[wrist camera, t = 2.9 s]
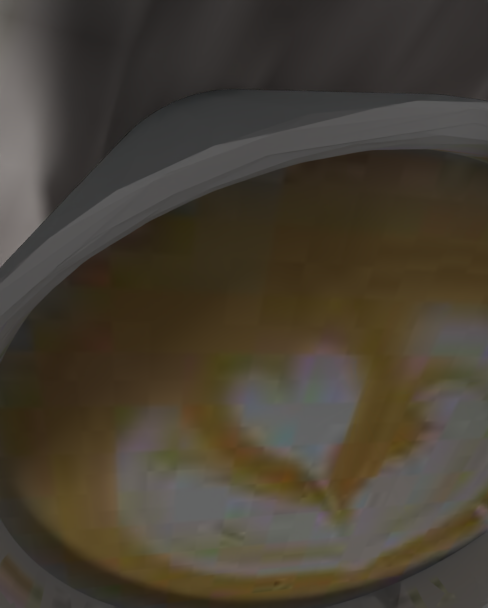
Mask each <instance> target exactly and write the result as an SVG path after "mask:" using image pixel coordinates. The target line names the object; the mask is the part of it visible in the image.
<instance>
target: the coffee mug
mask: <svg viewBox="0 0 488 608" xmlns="http://www.w3.org/2000/svg"><path fill="white" fill-rule="evenodd" d="M0 608H488V101H486V100H478V99H471V98H463V97H456V96H448V95H441V94H403V93H364V92H324V91H285V90H245V89H227V90H215V91H210V92H204V93H199V94H196V95H192V96H189V97H186V98H184V99H181V100H178V101H175V102H173V103H171V104H169V105H167V106H165V107H163V108H161V109H160V110H158V111H156V112H154V113H153V114H151V115H150V116H148V117H147V118H145V119H144V120H143V121H142V122H140V123H139V124H138V125H136V126H135V127H134V128H133V129H132V130H131V131H130V132H129V133H128V134H127V135H126V136H125V137H124V138H123V139H122V140H121V141H120V142H119V143H118V144H117V145H116V146H115V147H114V148H113V149H112V151H111V152H110V153H109V154H108V155H107V156H106V157H105V158H104V159H103V160H102V161H101V162H100V163H99V164H98V165H97V166H96V167H95V168H94V169H93V171H92V172H91V173H90V174H89V175H88V176H87V177H86V178H85V179H84V180H83V181H82V182H81V183H80V184H79V185H78V186H77V187H76V188H75V189H74V190H73V192H72V193H71V194H70V195H69V196H68V197H67V198H66V199H65V200H64V201H63V202H62V203H61V204H60V205H59V206H58V207H57V208H56V209H55V210H54V212H53V213H52V214H51V215H50V216H49V217H48V218H47V219H46V220H45V221H44V222H43V223H42V224H41V225H40V226H39V227H38V228H37V229H36V230H35V232H34V233H33V234H32V235H31V236H30V237H29V238H28V239H27V240H26V241H25V242H24V243H23V244H22V245H21V246H20V247H19V248H18V249H17V250H16V252H15V253H14V254H13V255H12V256H11V257H10V258H9V259H8V260H7V261H6V262H5V263H4V264H3V265H2V267H1V268H0Z"/></svg>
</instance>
